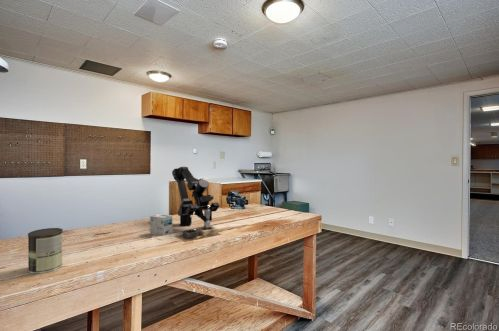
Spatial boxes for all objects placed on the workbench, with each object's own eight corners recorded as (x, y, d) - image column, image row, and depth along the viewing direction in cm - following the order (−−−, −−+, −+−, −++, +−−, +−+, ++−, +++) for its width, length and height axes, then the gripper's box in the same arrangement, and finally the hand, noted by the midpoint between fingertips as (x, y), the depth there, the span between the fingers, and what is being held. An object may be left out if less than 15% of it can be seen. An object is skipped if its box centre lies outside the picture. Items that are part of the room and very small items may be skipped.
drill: (204, 231, 139) (205, 210, 139) (203, 230, 142) (203, 208, 142) (210, 231, 140) (211, 209, 140) (209, 229, 144) (209, 208, 143)
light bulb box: (172, 234, 143) (173, 215, 143) (164, 237, 137) (164, 217, 137) (158, 231, 148) (158, 213, 148) (149, 234, 142) (149, 215, 141)
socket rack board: (185, 244, 126) (185, 236, 126) (174, 238, 136) (175, 230, 135) (221, 236, 141) (222, 229, 140) (210, 231, 150) (210, 224, 150)
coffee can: (20, 274, 91) (20, 235, 91) (41, 263, 101) (41, 227, 101) (51, 273, 92) (51, 235, 92) (68, 262, 102) (68, 227, 102)
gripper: (188, 190, 138) (197, 214, 130) (218, 188, 150) (228, 210, 141) (182, 202, 145) (190, 226, 136) (211, 200, 156) (220, 221, 148)
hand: (208, 220), depth 140 cm, fingers closed on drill, 3 cm apart
